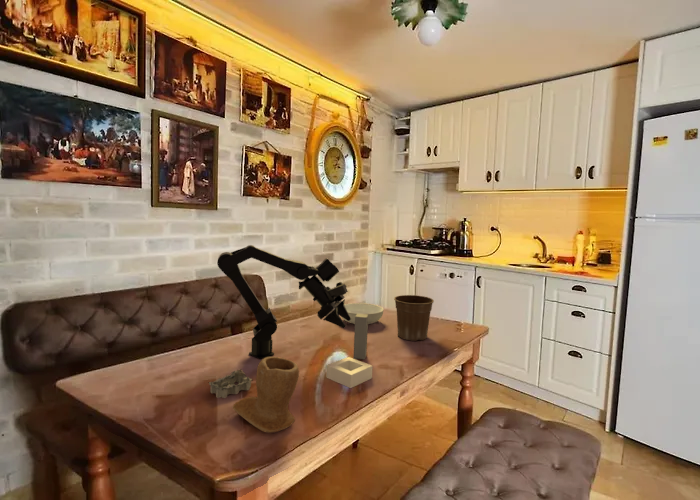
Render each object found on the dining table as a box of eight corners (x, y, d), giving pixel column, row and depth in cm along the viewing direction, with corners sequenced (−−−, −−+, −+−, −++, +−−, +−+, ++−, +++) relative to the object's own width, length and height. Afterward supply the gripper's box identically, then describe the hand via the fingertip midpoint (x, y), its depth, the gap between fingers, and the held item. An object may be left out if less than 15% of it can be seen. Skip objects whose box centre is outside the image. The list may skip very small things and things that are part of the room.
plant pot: (388, 339, 159) (390, 300, 157) (396, 328, 174) (398, 293, 172) (429, 345, 154) (431, 305, 152) (433, 333, 169) (435, 297, 168)
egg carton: (242, 381, 116) (242, 367, 116) (254, 390, 110) (254, 376, 110) (206, 390, 109) (207, 376, 109) (218, 401, 103) (218, 386, 103)
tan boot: (307, 423, 94) (309, 363, 93) (264, 442, 86) (266, 376, 84) (272, 400, 105) (273, 345, 103) (231, 414, 96) (231, 356, 95)
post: (353, 358, 137) (355, 316, 135) (355, 354, 141) (357, 313, 139) (364, 359, 136) (366, 317, 135) (366, 355, 140) (368, 314, 138)
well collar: (350, 388, 113) (351, 375, 113) (326, 377, 120) (326, 365, 120) (371, 378, 121) (372, 365, 121) (347, 368, 128) (348, 356, 127)
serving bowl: (362, 314, 197) (363, 300, 196) (392, 324, 181) (392, 309, 180) (329, 320, 184) (329, 305, 183) (358, 331, 168) (358, 316, 167)
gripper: (327, 280, 129) (359, 315, 128) (340, 272, 147) (367, 303, 146) (304, 301, 131) (335, 336, 130) (319, 291, 149) (346, 321, 148)
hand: (347, 323), depth 138 cm, fingers open, 9 cm apart
